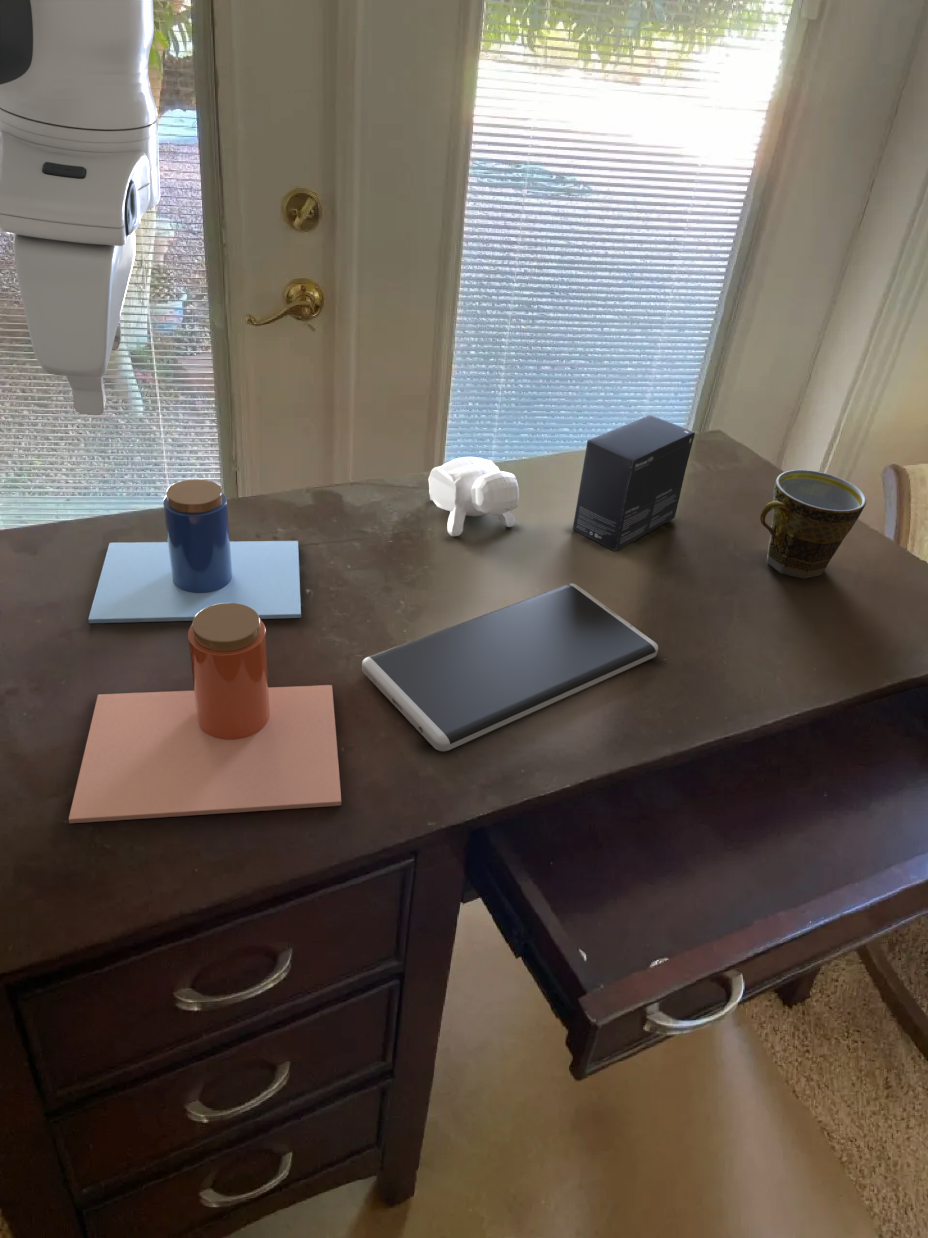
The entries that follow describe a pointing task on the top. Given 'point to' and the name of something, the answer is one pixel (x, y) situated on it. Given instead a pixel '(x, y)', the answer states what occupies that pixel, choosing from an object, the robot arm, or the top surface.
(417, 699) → the smartphone
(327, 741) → the clay mat
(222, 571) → the blue jar
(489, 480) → the white sheep figurine
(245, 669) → the terracotta jar
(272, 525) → the top surface
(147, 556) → the blue mat
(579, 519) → the small box
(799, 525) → the ceramic cup
